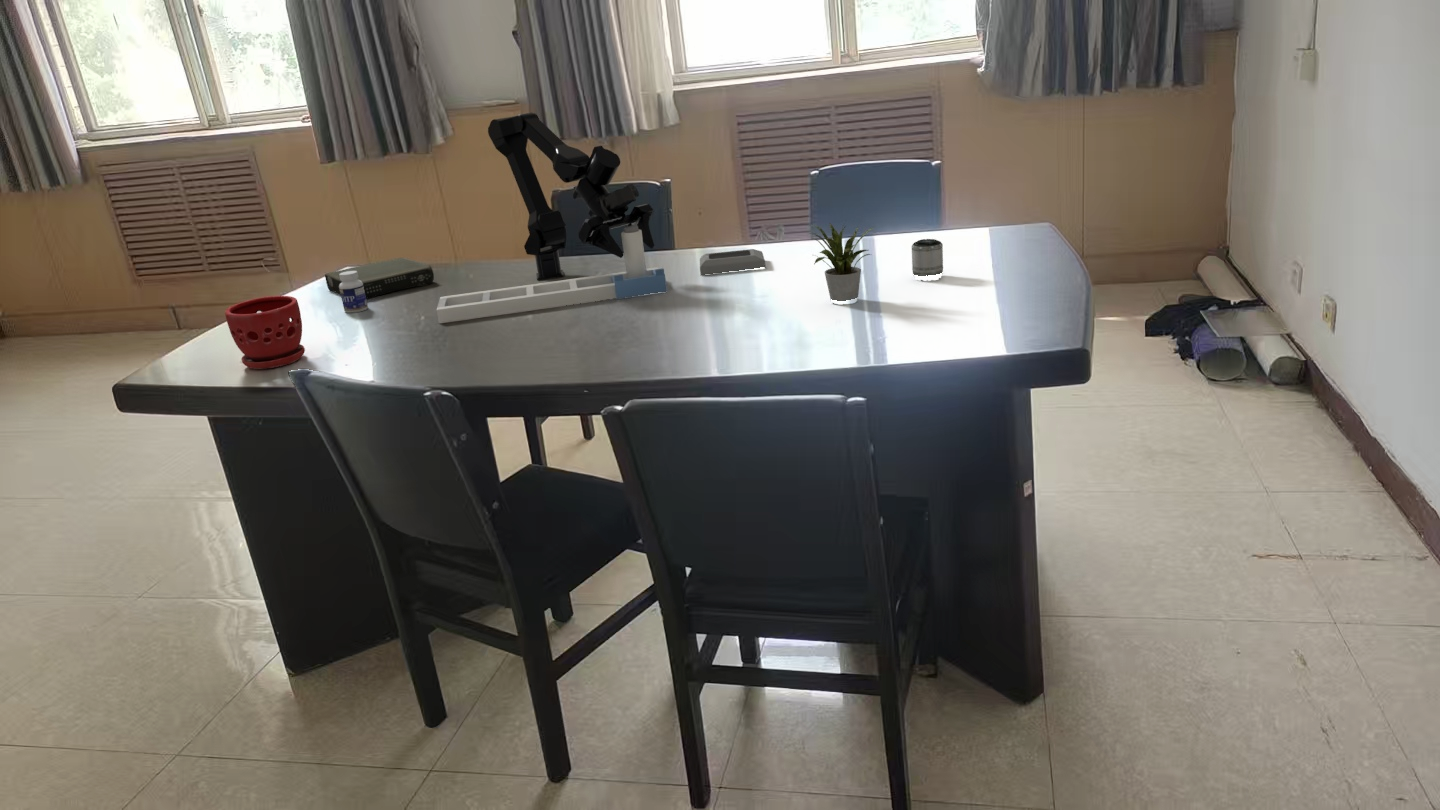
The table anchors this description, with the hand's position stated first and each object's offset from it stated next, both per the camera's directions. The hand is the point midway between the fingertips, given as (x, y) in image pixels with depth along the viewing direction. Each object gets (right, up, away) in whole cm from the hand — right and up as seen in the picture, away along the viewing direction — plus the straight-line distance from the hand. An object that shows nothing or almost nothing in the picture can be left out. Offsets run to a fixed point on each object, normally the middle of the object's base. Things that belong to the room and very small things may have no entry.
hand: (637, 251), depth 222 cm
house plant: (+41, -14, -22) cm, 49 cm away
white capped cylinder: (0, -8, +4) cm, 9 cm away
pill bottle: (-66, -12, +12) cm, 68 cm away
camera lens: (+61, -8, -12) cm, 63 cm away
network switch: (-67, -4, +34) cm, 75 cm away
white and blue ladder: (-19, -11, +1) cm, 22 cm away
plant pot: (-69, -26, -24) cm, 77 cm away
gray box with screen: (+21, -2, +15) cm, 26 cm away
